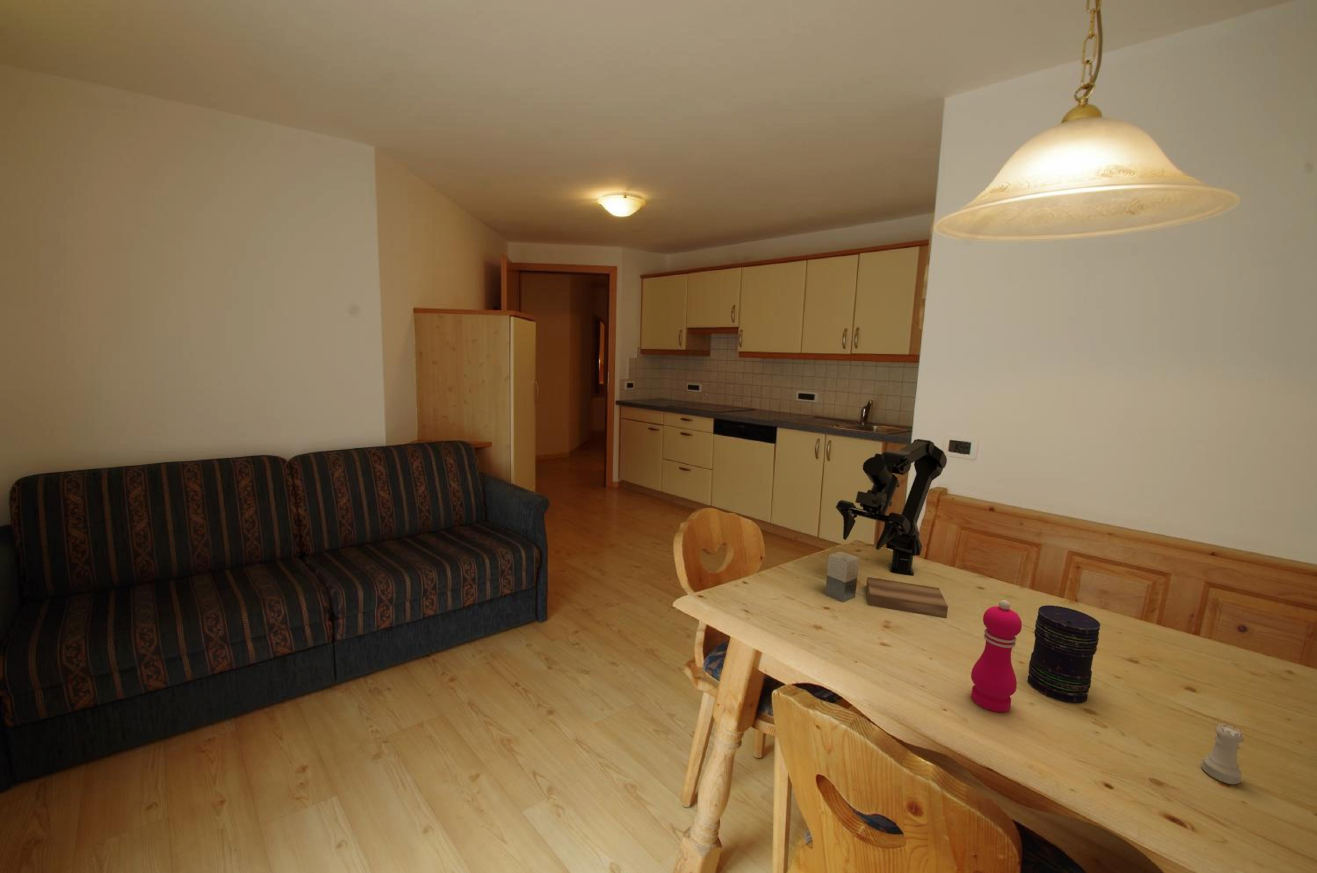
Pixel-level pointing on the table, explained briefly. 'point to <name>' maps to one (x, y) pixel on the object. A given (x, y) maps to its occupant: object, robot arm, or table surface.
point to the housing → (842, 576)
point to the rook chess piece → (1224, 755)
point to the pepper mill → (996, 659)
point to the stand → (906, 597)
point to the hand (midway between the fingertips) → (860, 544)
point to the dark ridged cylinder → (1063, 653)
